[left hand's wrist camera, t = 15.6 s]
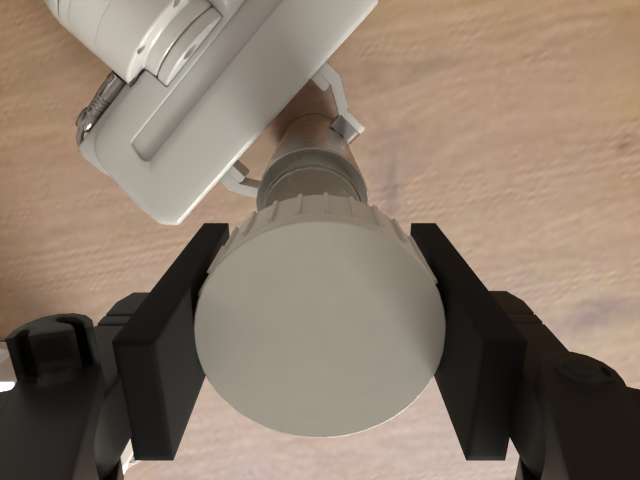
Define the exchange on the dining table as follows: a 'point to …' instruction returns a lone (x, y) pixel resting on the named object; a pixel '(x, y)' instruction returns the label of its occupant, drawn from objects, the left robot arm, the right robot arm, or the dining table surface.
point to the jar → (311, 165)
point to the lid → (319, 318)
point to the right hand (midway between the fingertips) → (323, 170)
